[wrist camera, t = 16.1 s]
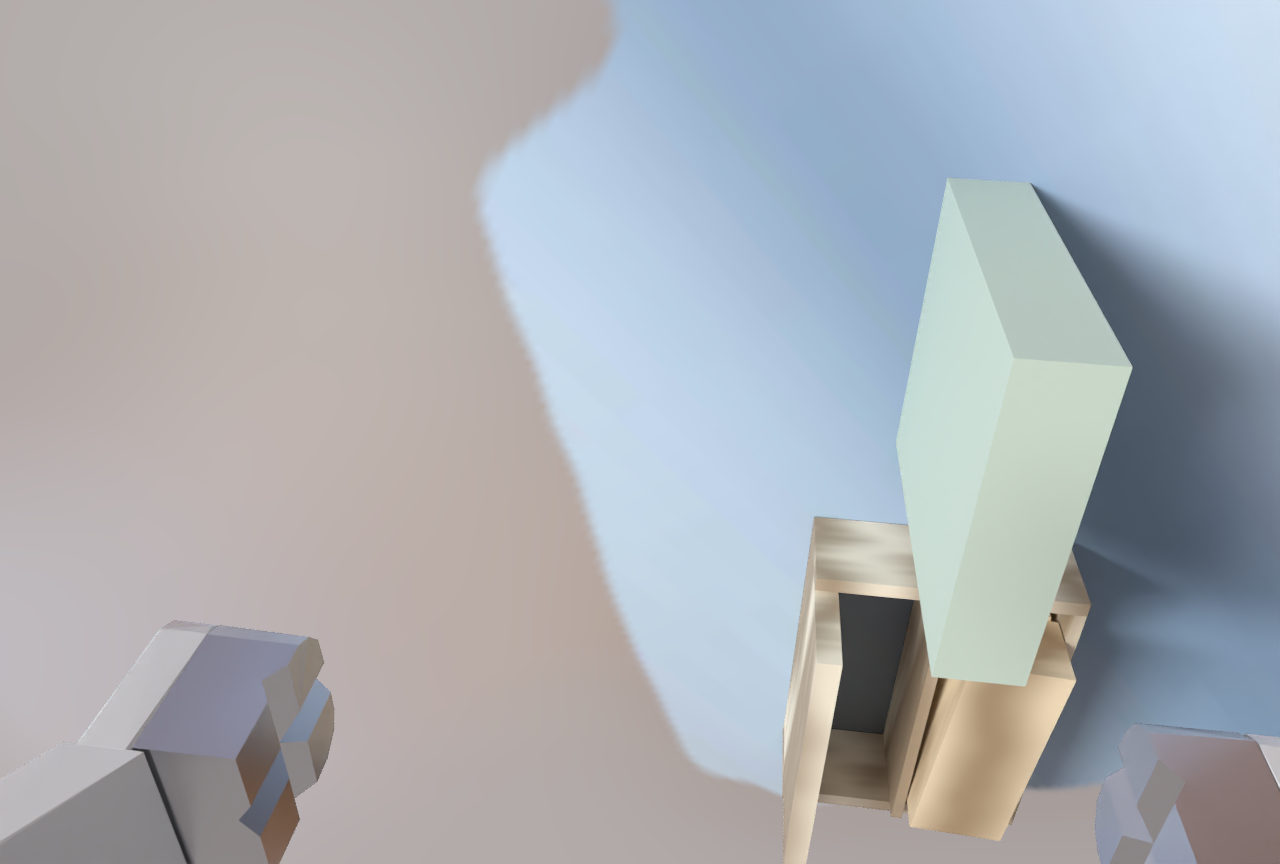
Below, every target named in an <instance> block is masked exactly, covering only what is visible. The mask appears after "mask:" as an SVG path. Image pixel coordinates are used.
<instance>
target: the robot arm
mask: <svg viewBox="0 0 1280 864" xmlns="http://www.w3.org/2000/svg"><path fill="white" fill-rule="evenodd" d="M323 664H324V660H323V656H322V652H321V649H320V645H319V642H318V640H317V639H313V638H310V637H305V636H298V635H290V634H283V633H274V632H267V631H259V630H252V629H245V628H237V627H230V626H221V625H219V626H218V625H210V624H202V623H194V622H185V621H178V620H174V621H172V622H171V623H169V624H167V625H166V626H164V627H163V628H161V629H160V630H159V631H158V632H157V633H156V635H155V636H154V638H153V639H152V641H151V642H150V643H149V644H148V646H147V647H146V649H145V650H144V652H143V653H142V654H141V656H140V657H139V658H138V660H137V661H136V662H135V664H134V665H133V667H132V668H131V669H130V671H129V672H128V674H127V675H126V676H125V678H124V679H123V681H122V682H121V683H120V684H119V686H118V687H117V689H116V690H115V691H114V693H113V695H111V697H110V698H109V700H108V701H107V703H106V704H105V705H104V707H103V708H102V709H101V711H100V712H99V713H98V715H97V716H96V718H95V719H94V720H93V722H92V723H91V724H90V726H89V727H88V729H87V730H86V731H85V733H84V734H83V736H82V737H81V738H80V740H79V741H78V742H77V743H66V742H62V743H60V744H59V745H57V746H55V747H54V748H52V749H50V750H48V751H47V752H45V753H43V754H42V755H40V756H38V757H36V758H35V759H34V760H31V761H30V762H28V763H26V764H25V765H23V766H21V767H20V768H18V769H16V770H14V771H13V772H11V773H9V774H8V775H6V776H4V777H3V778H1V779H0V864H279V863H280V861H281V859H282V857H283V855H284V852H285V850H286V848H287V846H288V844H289V842H290V840H291V837H292V835H293V833H294V831H295V829H296V827H297V825H298V822H299V820H300V818H299V814H298V810H297V806H296V803H295V799H294V798H296V797H297V796H298V795H300V794H301V793H302V792H304V791H305V790H307V789H308V788H309V787H311V786H312V785H313V784H315V783H316V782H317V781H318V779H319V776H320V774H321V772H322V769H323V767H324V765H325V762H326V760H327V758H328V754H329V750H330V745H331V741H332V736H333V732H334V706H333V701H332V696H331V692H330V691H329V690H328V689H327V688H326V687H325V686H324V685H323V684H321V683H320V682H319V681H318V680H317V679H316V678H317V676H318V674H319V672H320V670H321V668H322V666H323ZM1118 749H1119V752H1120V756H1121V759H1122V762H1123V765H1124V767H1123V768H1122V769H1120V770H1118V771H1116V772H1115V773H1113V774H1111V775H1109V776H1108V777H1106V778H1105V780H1104V783H1103V785H1102V788H1101V791H1100V793H1099V796H1098V799H1097V805H1096V818H1095V834H1096V842H1097V850H1098V854H1099V858H1100V862H1101V864H1280V737H1272V736H1262V735H1252V734H1244V735H1242V734H1240V733H1237V732H1226V731H1216V730H1205V729H1194V728H1184V727H1173V726H1163V725H1152V724H1141V723H1135V724H1134V725H1132V726H1131V727H1130V728H1129V729H1128V730H1126V732H1125V734H1124V736H1123V738H1122V741H1121V743H1120V745H1119V747H1118Z"/></svg>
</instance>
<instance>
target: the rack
mask: <svg viewBox="0 0 1280 864" xmlns="http://www.w3.org/2000/svg"><path fill="white" fill-rule="evenodd" d="M839 593H848V594H859V595H869V596H879V597H890V598H900V599H910V600H914V601H913V606H912V610H911V615H910V619H909V623H908V628H907V632H906V636H905V641H904V645H903V649H902V654H901V658H900V662H899V667H898V671H897V676H896V680H895V684H894V689H893V693H892V697H891V702H890V706H889V710H888V715H887V719H886V724H885V728H884V732H883V734H875V733H866V732H856V731H847V730H838V729H831V726H832V721H833V715H834V710H835V705H836V699H837V694H838V689H839V683H840V678H841V672H842V667H843V662H842V645H841V627H840V610H839ZM1090 607H1091V602H1090V599H1089V596H1088V594H1087V591H1086V588H1085V585H1084V582H1083V580H1082V577H1081V574H1080V571H1079V568H1078V565H1077V563H1076V560H1075V557H1074V554H1073V551H1072V550H1071V553H1070V556H1069V559H1068V562H1067V565H1066V568H1065V571H1064V574H1063V576H1062V579H1061V582H1060V585H1059V588H1058V591H1057V594H1056V597H1055V600H1054V603H1053V606H1052V609H1051V612H1050V614H1051V620H1050V621H1051V622H1058V623H1059V626H1060V629H1061V633H1062V636H1063V639H1064V642H1065V646H1066V649H1067V652H1068V655H1069V658H1070V662H1071V660H1072V657H1073V654H1074V651H1075V649H1076V646H1077V643H1078V640H1079V638H1080V635H1081V632H1082V629H1083V627H1084V624H1085V621H1086V618H1087V616H1088V613H1089V610H1090ZM937 680H938V677H931V670H930V664H929V657H928V651H927V644H926V637H925V631H924V624H923V618H922V611H921V604H920V598H919V591H918V585H917V578H916V572H915V565H914V558H913V552H912V545H911V539H910V532H909V525H900V524H889V523H878V522H867V521H856V520H845V519H834V518H822V517H814V523H813V530H812V537H811V544H810V551H809V557H808V564H807V571H806V578H805V585H804V592H803V598H802V605H801V612H800V619H799V626H798V633H797V639H796V646H795V653H794V660H793V667H792V674H791V681H790V687H789V694H788V701H787V708H786V715H785V722H784V728H783V797H782V798H784V840H783V843H784V844H783V848H784V849H783V857H784V858H783V864H806V861H807V855H808V850H809V844H810V839H811V834H812V829H813V823H814V818H815V812H816V807H817V802H819V803H828V804H836V805H845V806H854V807H863V808H871V809H879V810H888V811H890V813H891V817H898V818H901V817H902V813H903V812H905V813H908V806H907V794H908V790H909V787H910V783H911V779H912V775H913V771H914V768H915V764H916V760H917V756H918V752H919V749H920V745H921V741H922V737H923V733H924V729H925V726H926V722H927V718H928V714H929V710H930V707H931V703H932V699H933V695H934V691H935V688H936V684H937ZM1022 795H1023V794H1022ZM1021 797H1022V796H1021ZM1020 800H1021V798H1020ZM1020 800H1019V802H1018V804H1017V806H1016V808H1015V811H1014V813H1013V815H1012V817H1011V819H1010V821H1009V823H1008V824H1009V825H1011V824H1012V822H1013V819H1014V817H1015V814H1016V811H1017V808H1018V806H1019V803H1020Z"/></svg>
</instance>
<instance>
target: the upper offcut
mask: <svg viewBox="0 0 1280 864" xmlns="http://www.w3.org/2000/svg"><path fill="white" fill-rule="evenodd" d="M1075 683H1076V678H1075V675H1074V671H1073V668H1072V665H1071V662H1070V658H1069V655H1068V652H1067V649H1066V646H1065V642H1064V639H1063V636H1062V633H1061V629H1060V626H1059V623H1058V622H1051V621H1047V624H1046V627H1045V630H1044V633H1043V636H1042V639H1041V642H1040V645H1039V648H1038V651H1037V654H1036V657H1035V660H1034V663H1033V666H1032V669H1031V672H1030V675H1029V678H1028V681H1027V684H1026V687H1023V686H1014V685H1004V684H995V683H985V682H976V681H966V680H957V679H947V678H938V680H937V684H936V688H935V691H934V695H933V699H932V703H931V707H930V710H929V714H928V718H927V722H926V726H925V729H924V733H923V737H922V741H921V745H920V749H919V752H918V756H917V760H916V764H915V768H914V771H913V775H912V779H911V783H910V787H909V790H908V794H907V806H908V815H909V823H910V827H916V828H922V829H928V830H934V831H941V832H947V833H953V834H959V835H966V836H972V837H978V838H984V839H991V840H997V841H1000V840H1001V837H1002V836H1003V833H1004V831H1005V829H1006V827H1007V825H1008V823H1009V821H1010V819H1011V817H1012V815H1013V813H1014V811H1015V808H1016V806H1017V804H1018V802H1019V800H1020V798H1021V796H1022V794H1023V792H1024V790H1025V787H1026V785H1027V783H1028V781H1029V779H1030V777H1031V775H1032V773H1033V771H1034V769H1035V767H1036V764H1037V762H1038V760H1039V758H1040V756H1041V754H1042V752H1043V750H1044V748H1045V746H1046V743H1047V741H1048V739H1049V737H1050V735H1051V733H1052V731H1053V729H1054V727H1055V725H1056V723H1057V720H1058V718H1059V716H1060V714H1061V712H1062V710H1063V708H1064V706H1065V704H1066V702H1067V699H1068V697H1069V695H1070V693H1071V691H1072V689H1073V687H1074V685H1075Z"/></svg>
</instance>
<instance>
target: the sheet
mask: <svg viewBox="0 0 1280 864" xmlns="http://www.w3.org/2000/svg"><path fill="white" fill-rule="evenodd" d="M1132 368H1133V367H1132V365H1131V363H1130V361H1129V360H1128V358H1127V356H1126V354H1125V352H1124V351H1123V349H1122V347H1121V345H1120V343H1119V342H1118V340H1117V338H1116V336H1115V334H1114V333H1113V331H1112V329H1111V327H1110V325H1109V324H1108V322H1107V320H1106V318H1105V316H1104V315H1103V313H1102V311H1101V309H1100V307H1099V306H1098V304H1097V302H1096V300H1095V298H1094V297H1093V295H1092V293H1091V291H1090V289H1089V288H1088V286H1087V284H1086V282H1085V281H1084V279H1083V277H1082V275H1081V273H1080V272H1079V270H1078V268H1077V266H1076V264H1075V263H1074V261H1073V259H1072V257H1071V255H1070V254H1069V252H1068V250H1067V248H1066V246H1065V245H1064V243H1063V241H1062V239H1061V237H1060V236H1059V234H1058V232H1057V230H1056V228H1055V227H1054V225H1053V223H1052V221H1051V219H1050V218H1049V216H1048V214H1047V212H1046V210H1045V209H1044V207H1043V205H1042V203H1041V201H1040V200H1039V198H1038V196H1037V194H1036V193H1035V191H1034V189H1033V187H1032V185H1031V184H1030V183H1026V182H1010V181H993V180H977V179H960V178H947V183H946V188H945V193H944V198H943V204H942V209H941V214H940V219H939V224H938V229H937V234H936V239H935V245H934V250H933V255H932V260H931V265H930V270H929V275H928V281H927V286H926V291H925V296H924V301H923V306H922V311H921V317H920V322H919V327H918V332H917V337H916V342H915V347H914V352H913V358H912V363H911V368H910V373H909V378H908V383H907V388H906V394H905V399H904V404H903V409H902V414H901V419H900V424H899V430H898V435H897V440H896V446H897V453H898V459H899V466H900V473H901V479H902V486H903V492H904V499H905V506H906V512H907V519H908V525H909V532H910V539H911V545H912V552H913V558H914V565H915V572H916V578H917V585H918V591H919V598H920V604H921V611H922V618H923V624H924V631H925V637H926V644H927V651H928V657H929V664H930V670H931V677H938V678H947V679H957V680H966V681H976V682H985V683H995V684H1004V685H1014V686H1023V687H1026V684H1027V681H1028V678H1029V675H1030V672H1031V669H1032V666H1033V663H1034V660H1035V657H1036V654H1037V651H1038V648H1039V645H1040V642H1041V639H1042V636H1043V633H1044V630H1045V627H1046V624H1047V621H1048V618H1049V615H1050V612H1051V609H1052V606H1053V603H1054V600H1055V597H1056V594H1057V591H1058V588H1059V585H1060V582H1061V579H1062V576H1063V574H1064V571H1065V568H1066V565H1067V562H1068V559H1069V556H1070V553H1071V550H1072V547H1073V544H1074V541H1075V538H1076V535H1077V532H1078V529H1079V526H1080V523H1081V520H1082V517H1083V514H1084V511H1085V508H1086V505H1087V502H1088V499H1089V496H1090V493H1091V490H1092V487H1093V484H1094V481H1095V478H1096V475H1097V472H1098V469H1099V466H1100V463H1101V460H1102V457H1103V454H1104V451H1105V448H1106V446H1107V443H1108V440H1109V437H1110V434H1111V431H1112V428H1113V425H1114V422H1115V419H1116V416H1117V413H1118V410H1119V407H1120V404H1121V401H1122V398H1123V395H1124V392H1125V389H1126V386H1127V383H1128V380H1129V377H1130V374H1131V371H1132Z"/></svg>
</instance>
